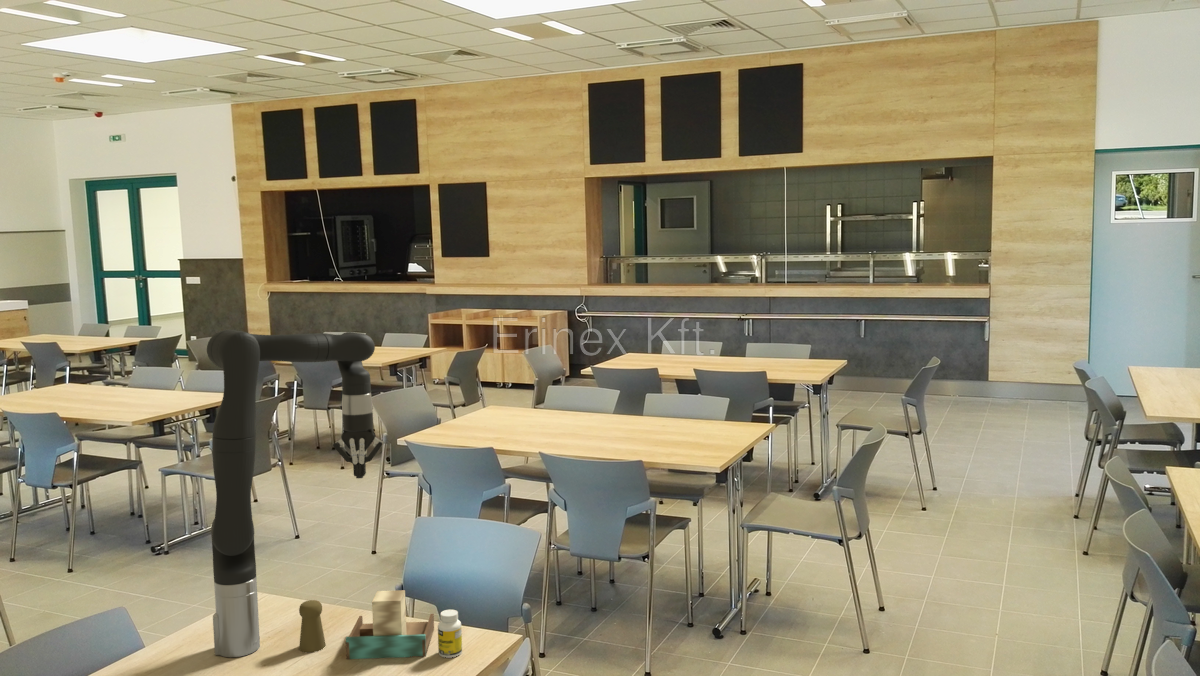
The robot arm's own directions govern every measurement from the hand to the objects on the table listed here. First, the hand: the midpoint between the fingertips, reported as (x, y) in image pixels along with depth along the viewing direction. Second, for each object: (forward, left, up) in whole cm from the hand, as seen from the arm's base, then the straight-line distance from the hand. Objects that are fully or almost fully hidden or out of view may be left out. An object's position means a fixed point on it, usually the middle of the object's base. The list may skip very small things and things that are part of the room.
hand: (360, 477), depth 240 cm
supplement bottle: (+25, -28, -35) cm, 51 cm away
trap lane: (+10, -21, -35) cm, 42 cm away
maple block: (+11, -25, -33) cm, 43 cm away
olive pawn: (-8, -22, -35) cm, 42 cm away
